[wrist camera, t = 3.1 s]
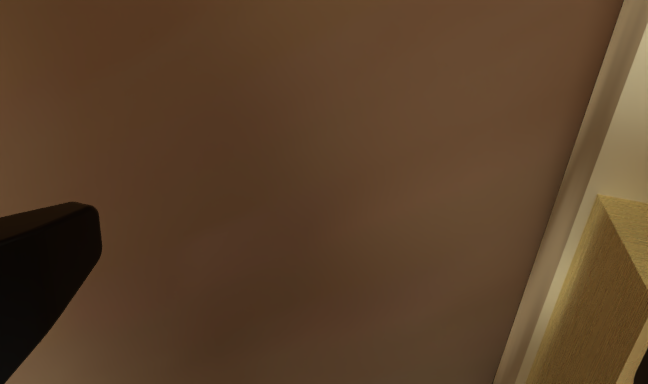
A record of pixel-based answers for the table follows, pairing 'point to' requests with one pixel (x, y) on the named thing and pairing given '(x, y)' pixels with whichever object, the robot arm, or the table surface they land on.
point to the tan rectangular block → (600, 302)
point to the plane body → (589, 181)
